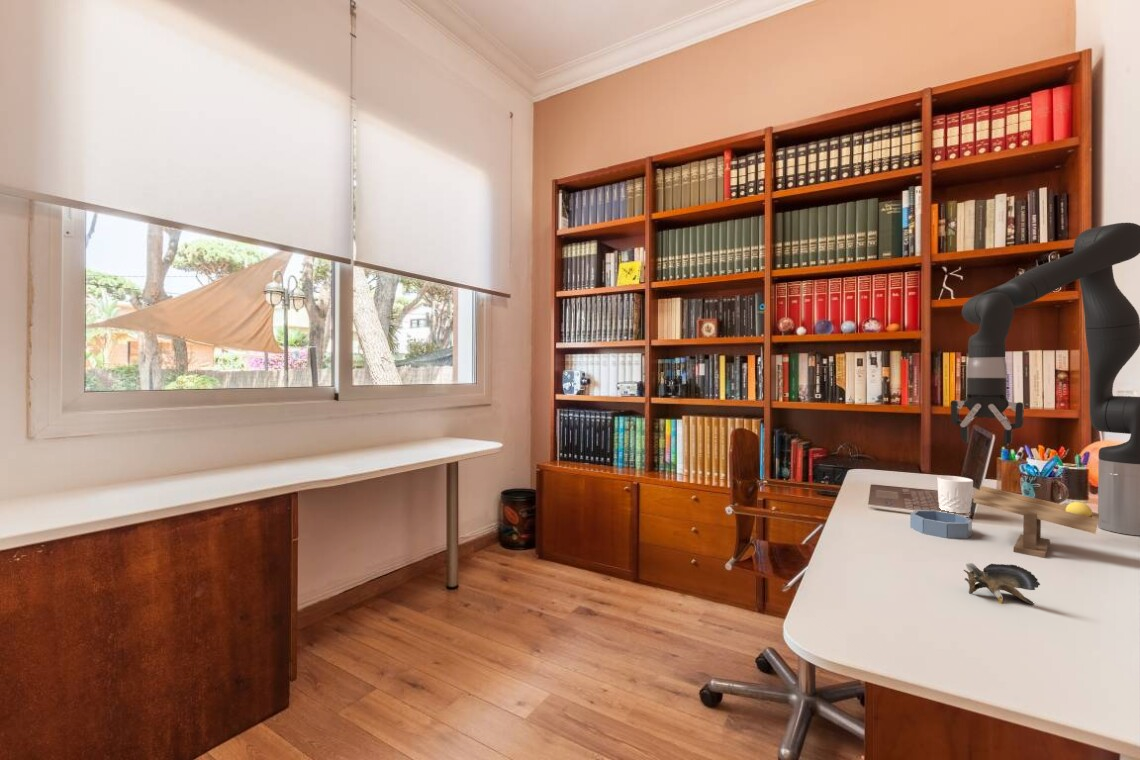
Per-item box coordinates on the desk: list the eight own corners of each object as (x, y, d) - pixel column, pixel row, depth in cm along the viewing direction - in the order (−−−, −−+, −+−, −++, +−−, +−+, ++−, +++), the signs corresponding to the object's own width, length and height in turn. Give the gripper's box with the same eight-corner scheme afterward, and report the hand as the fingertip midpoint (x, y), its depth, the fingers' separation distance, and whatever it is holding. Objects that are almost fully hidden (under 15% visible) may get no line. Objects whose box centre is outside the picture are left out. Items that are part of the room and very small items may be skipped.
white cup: (960, 511, 143) (960, 476, 143) (979, 519, 136) (980, 481, 136) (930, 510, 144) (930, 475, 144) (948, 518, 136) (948, 481, 136)
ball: (1071, 516, 111) (1078, 499, 110) (1093, 525, 107) (1100, 508, 106) (1057, 515, 110) (1064, 498, 109) (1078, 524, 106) (1085, 506, 105)
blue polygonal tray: (906, 530, 126) (906, 516, 126) (918, 521, 134) (918, 507, 134) (965, 541, 117) (965, 526, 117) (974, 531, 125) (974, 516, 125)
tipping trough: (970, 502, 118) (972, 489, 118) (980, 493, 127) (982, 481, 127) (1095, 535, 104) (1098, 519, 103) (1096, 522, 113) (1099, 508, 112)
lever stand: (1013, 551, 111) (1013, 512, 111) (1020, 538, 120) (1021, 502, 119) (1044, 557, 107) (1045, 517, 107) (1049, 543, 116) (1050, 506, 116)
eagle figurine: (980, 600, 84) (1048, 598, 81) (964, 556, 88) (1028, 553, 85) (971, 608, 90) (1033, 607, 87) (956, 567, 94) (1015, 564, 91)
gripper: (946, 376, 127) (946, 442, 127) (1023, 376, 116) (1023, 448, 116) (953, 376, 132) (952, 439, 132) (1027, 376, 121) (1026, 445, 122)
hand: (985, 443), depth 124 cm, fingers open, 7 cm apart
